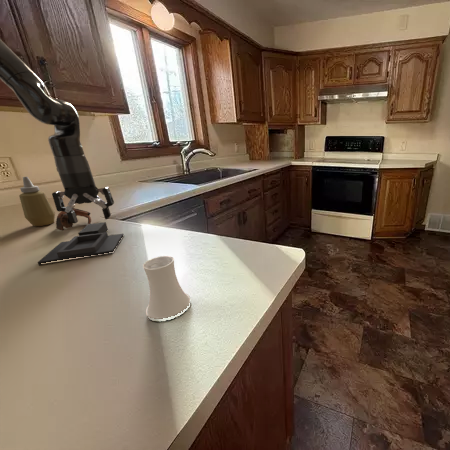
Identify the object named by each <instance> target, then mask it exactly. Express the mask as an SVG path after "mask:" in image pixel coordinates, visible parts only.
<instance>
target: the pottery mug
mask: <svg viewBox="0 0 450 450" xmlns="http://www.w3.org/2000/svg"><path fill="white" fill-rule="evenodd" d="M73 211H75V214H76V217H84V218H86V219H87V224H92V218H91V212H90V211H86V210H83V209H79V208H75V207H74V208H73ZM55 220H56V221H55V226H56V227H55V228H56V229H57V230H60V231H64V230H65V229H71V228H73V226H74V224H73V223H72V222H70V221H69V218H68V215H67V213H66V212H63V211H60V212H58V214H57V216H56V219H55Z"/></svg>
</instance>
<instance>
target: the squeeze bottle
mask: <svg viewBox="0 0 450 450" xmlns="http://www.w3.org/2000/svg"><path fill="white" fill-rule="evenodd" d="M22 184H23V186H22V187H19V189H20V192H21V193H20V194H19V195H18V197H19V201H20V204H21V207H22V208H21V209H22V212H23V215H24V218H25V220H26V221H28V222H29V224H30V225H32V226H33V227H44V226H49V225H51V224H54V223H55V220H56V219H55V218H56V217H55V216H56V212H55V209H54V208H53V206H52V204H51V203H50V201H49V198H48V197H47V195H46V193H45V191H41V190H40V187H39V186H38V185H34V184H33V182H32V181H31V179H30V177H28V176H22Z"/></svg>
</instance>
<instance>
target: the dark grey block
mask: <svg viewBox="0 0 450 450" xmlns="http://www.w3.org/2000/svg"><path fill="white" fill-rule="evenodd" d="M107 230H108V231H109V228H108V225H107V221H103V222H96V223H95V222H94V223H91V224H89V223H87V225H85V226H83V228H82V229H81V230H80V231H79V232H78V236H82V235H90V234H97V233H104V232H106V231H107ZM108 231H107V232H108Z"/></svg>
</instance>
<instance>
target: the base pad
mask: <svg viewBox="0 0 450 450" xmlns="http://www.w3.org/2000/svg"><path fill="white" fill-rule="evenodd" d="M123 235H124V233H118V234H111V235H110V234H109V235H108V231H107V232H104V233H97V234H90V235H82V236H79V235H76V236H73V237H72V238H71V239H70V240H66V241H61V242H59V243H58V245H56V246H55V247H54V248H52V249H51V250H50V251H49V252H48V253H47V254H45V255H44V256H43V257H42V258H41V259H39V260H38V261H37V264H41V263H46V262H51V261H57V260H63V259H69V258H76V257H84V256H91V255H98V254H104V253H109V252H113V251H114V249H115V248H116V246H117V245H118V243H119V241H120V240H121V238H122V237H123ZM123 238H124V237H123ZM121 241H122V240H121ZM119 244H120V243H119ZM118 246H119V245H118ZM116 249H117V248H116ZM114 252H115V251H114Z"/></svg>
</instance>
